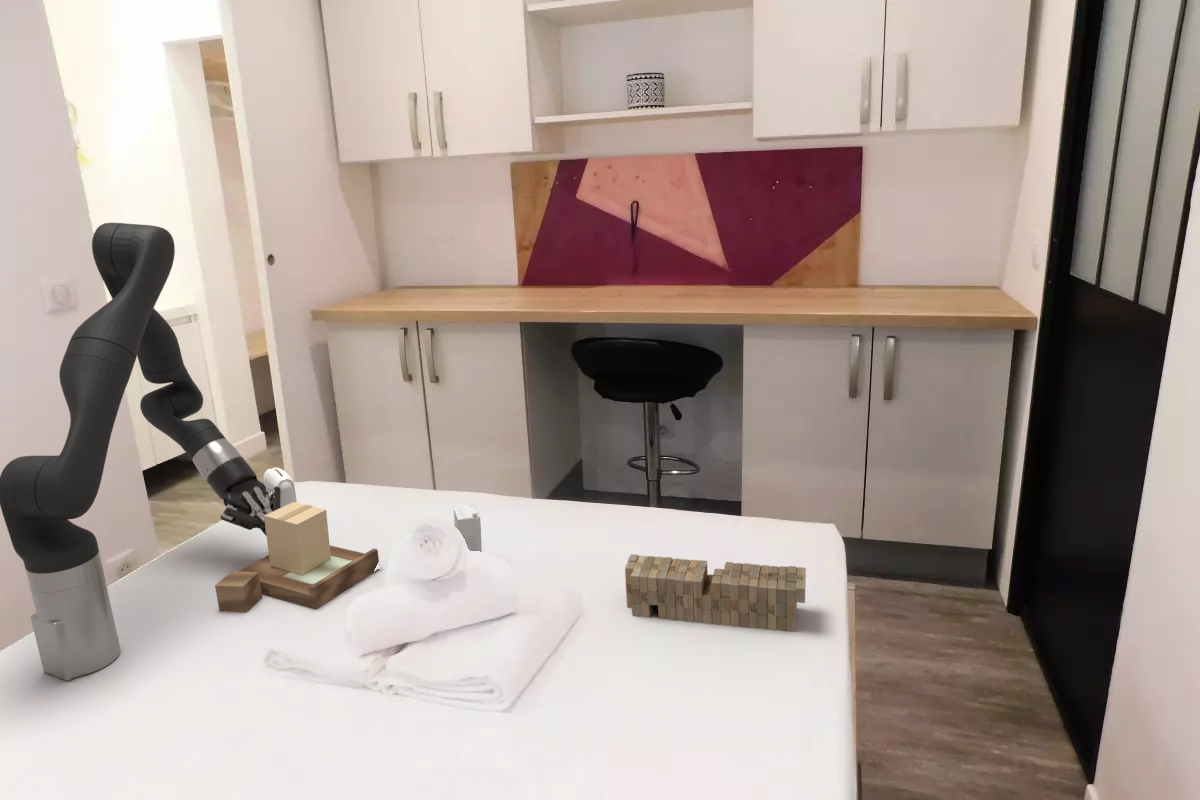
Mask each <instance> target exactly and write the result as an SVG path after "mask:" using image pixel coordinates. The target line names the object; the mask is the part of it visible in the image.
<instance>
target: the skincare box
mask: <svg viewBox="0 0 1200 800" xmlns="http://www.w3.org/2000/svg"><path fill="white" fill-rule="evenodd" d="M453 518H454V520H453V521H454V528H455V527H456V528H457V529H458V530H459V531H460V533H461V534H462V536H463V538H464V539H465V542H466V544H467V547H468V549H469V550H470V551H480V552H483V551H482V548H483V547H482V528H481V527H482V526H481V516H480V514H479V509H478V508H477V506H476V504H469V505H468V504H466V505H461V506H454V507H453Z"/></svg>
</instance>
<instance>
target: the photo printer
mask: <svg viewBox="0 0 1200 800" xmlns="http://www.w3.org/2000/svg"><path fill="white" fill-rule="evenodd" d="M262 480H263V484H264V485H265V486H266V487H267V488H272V489H274V488H275V487H279V488H280V489H281V504H280V508H282V507H284V506H286V505H288V504H290V503H292V502H297V503H298V501H297V495H296V488H295V482H294V480H293V479H292V477H291V476H290V475H289V474H288V472H287V471H285V470H284V469H282V468H280V467H275V466H274V467H272V468H268V469H266V470H265V471H264V473H263V479H262ZM266 500H267V496H266ZM267 501H268V503H269V500H267Z"/></svg>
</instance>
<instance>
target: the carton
mask: <svg viewBox="0 0 1200 800" xmlns="http://www.w3.org/2000/svg"><path fill="white" fill-rule="evenodd" d="M327 514H328V513H327V509H325V508H320V507H318V506H317V507H316V506H312V505H309V504H304V503H301V502H298V501H297V502H292V503H290V504H288V505H286V506H284V507H282V508H279V509H277V510H275V511H273V512H271V513H269V514H267V515H265V516H264V519H265V528H266V535H265V537H266V536H267V537H266V544H267V550H268V555H269V561H270V566H273V567H276V568H280V569H283V570H286V571H290V572H293V573H297V574H300V575H304V574H306V573H307V572H309V571H311V570H312V569H314V568H316V567H318V566H319V565H321V564H323V563H324V562H326V561H328V560H330V559H331V555H330V546H331V544H330V537H329V526H328V515H327Z"/></svg>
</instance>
